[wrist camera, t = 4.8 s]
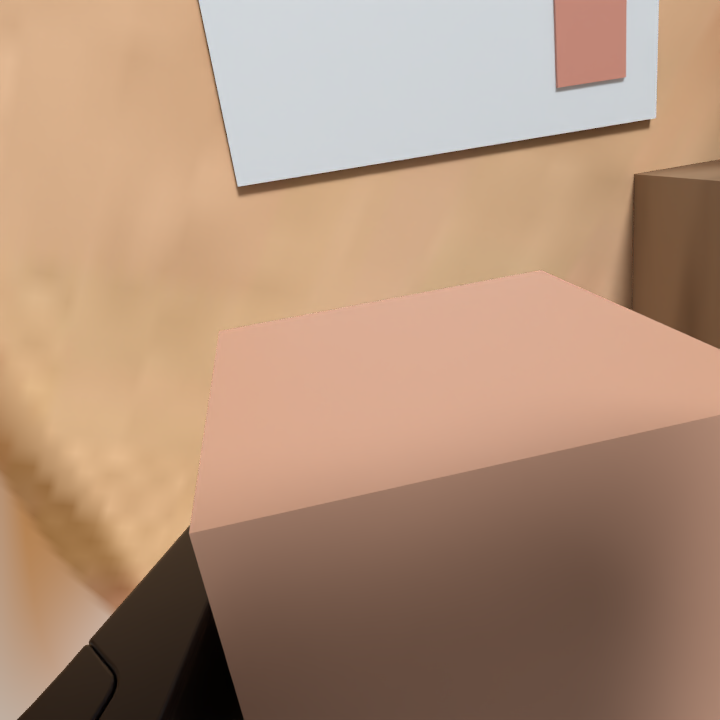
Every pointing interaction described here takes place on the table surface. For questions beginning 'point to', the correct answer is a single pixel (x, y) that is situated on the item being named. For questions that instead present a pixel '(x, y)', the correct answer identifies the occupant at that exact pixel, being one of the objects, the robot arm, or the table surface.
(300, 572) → the block
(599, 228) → the table surface
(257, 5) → the envelope
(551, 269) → the table surface
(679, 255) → the walnut block
